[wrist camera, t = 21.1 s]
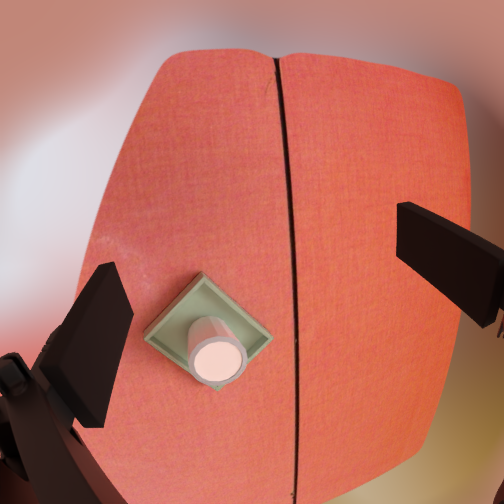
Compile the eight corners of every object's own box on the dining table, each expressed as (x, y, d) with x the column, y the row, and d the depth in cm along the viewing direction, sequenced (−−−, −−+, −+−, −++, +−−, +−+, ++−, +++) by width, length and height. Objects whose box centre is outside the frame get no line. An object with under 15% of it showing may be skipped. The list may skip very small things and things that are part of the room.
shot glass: (208, 365, 41) (218, 395, 34) (172, 336, 38) (175, 365, 32) (244, 332, 41) (259, 358, 35) (208, 300, 39) (218, 324, 32)
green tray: (143, 331, 38) (143, 339, 36) (201, 271, 38) (204, 276, 36) (214, 382, 42) (217, 391, 40) (269, 331, 43) (274, 338, 41)
